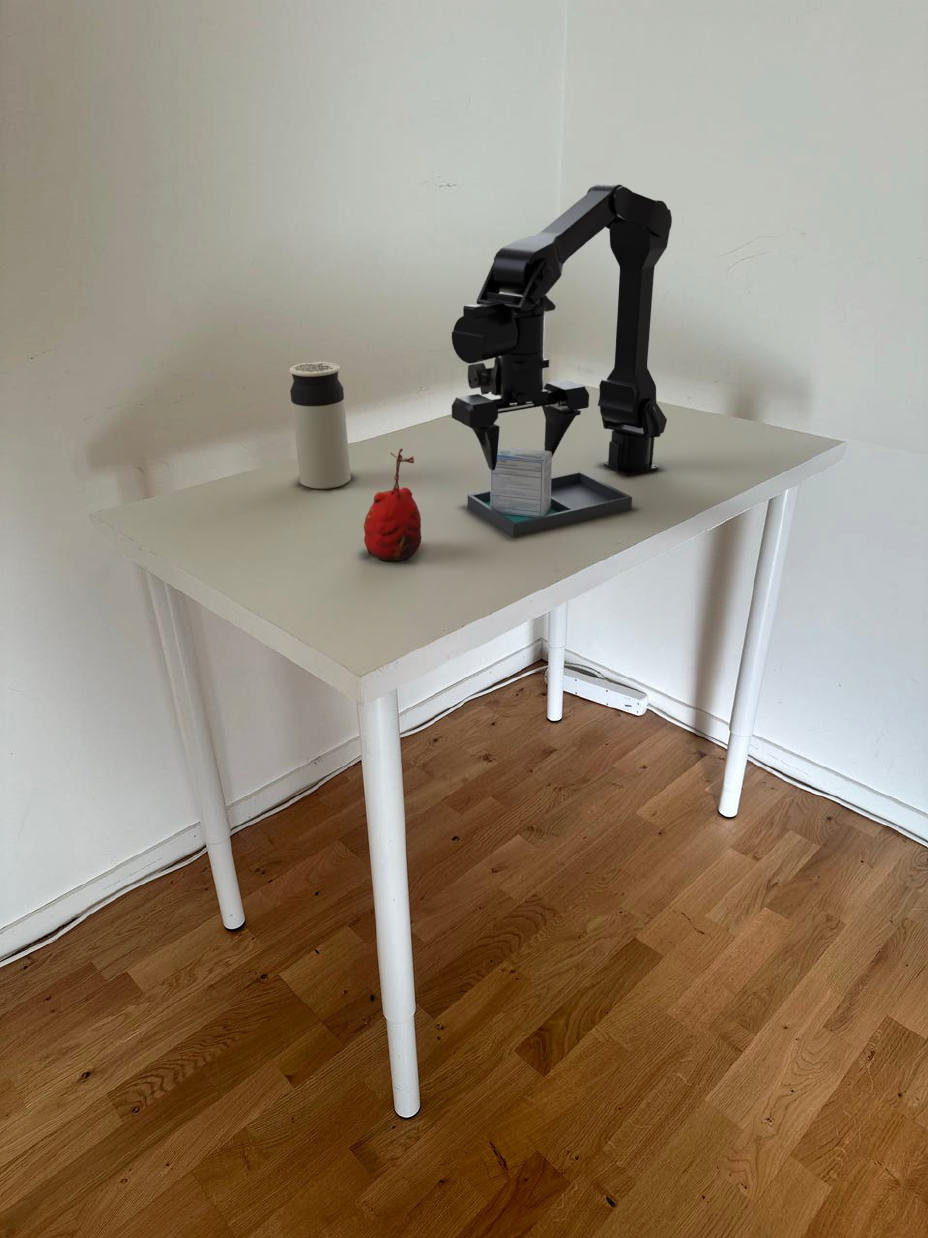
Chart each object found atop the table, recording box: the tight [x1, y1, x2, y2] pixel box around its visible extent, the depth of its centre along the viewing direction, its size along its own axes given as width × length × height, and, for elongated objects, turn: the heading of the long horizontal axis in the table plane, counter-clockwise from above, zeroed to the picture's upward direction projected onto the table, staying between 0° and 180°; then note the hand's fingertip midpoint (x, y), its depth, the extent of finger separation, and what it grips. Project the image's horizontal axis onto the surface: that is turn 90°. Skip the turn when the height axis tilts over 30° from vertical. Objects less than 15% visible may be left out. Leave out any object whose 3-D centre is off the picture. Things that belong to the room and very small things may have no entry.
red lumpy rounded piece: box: [363, 448, 422, 562], centre depth 116 cm, size 8×7×15 cm
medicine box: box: [489, 446, 553, 517], centre depth 128 cm, size 8×4×9 cm, turn 70°
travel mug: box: [289, 361, 352, 490], centre depth 140 cm, size 8×8×18 cm
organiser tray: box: [467, 470, 633, 539], centre depth 132 cm, size 20×13×2 cm, turn 118°
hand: (520, 463), depth 127 cm, fingers open, 9 cm apart
